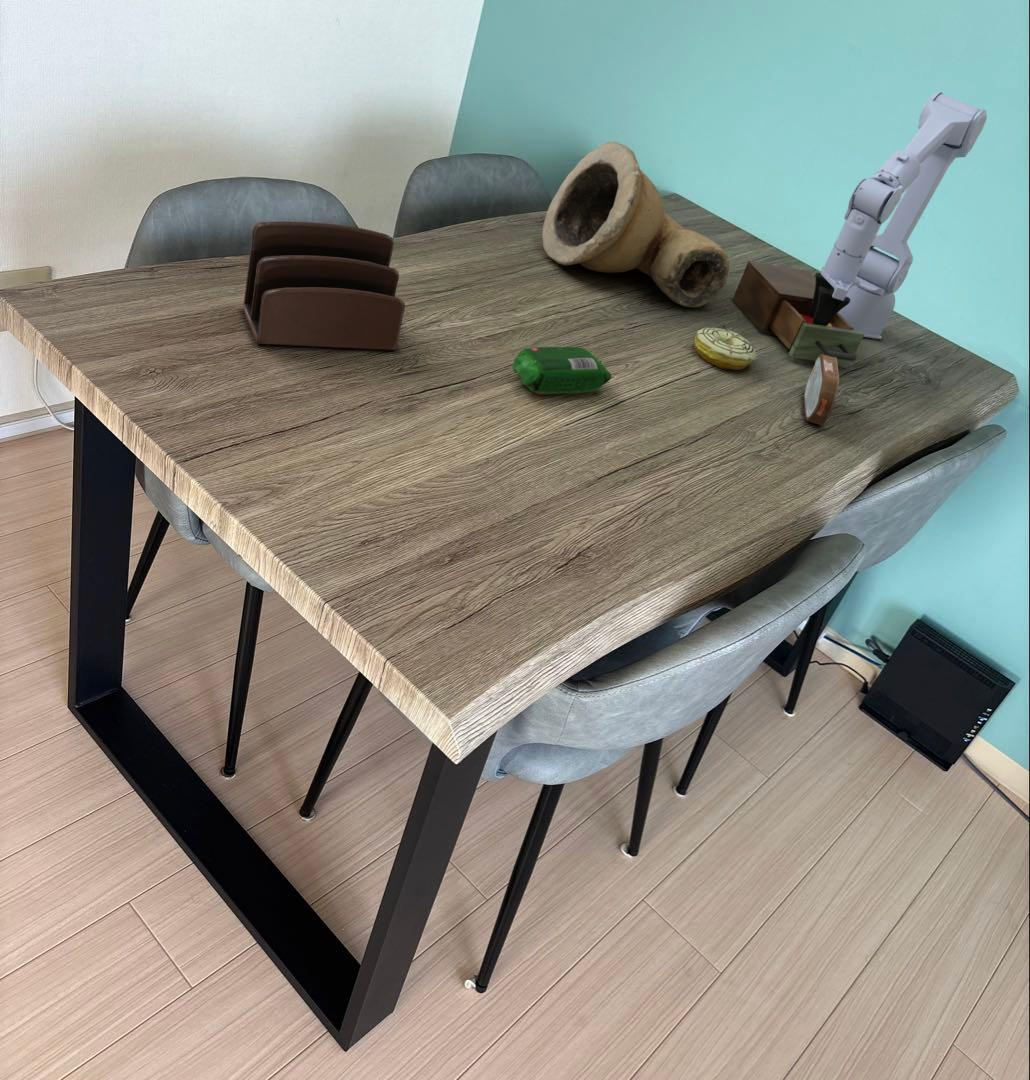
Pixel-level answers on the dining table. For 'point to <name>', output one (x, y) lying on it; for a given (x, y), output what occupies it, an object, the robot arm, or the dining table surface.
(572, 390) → the snack package
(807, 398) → the tin
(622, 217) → the pipe
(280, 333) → the letter holder
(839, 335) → the drawer
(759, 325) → the cabinet
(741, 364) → the decorated donut
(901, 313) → the dining table surface
